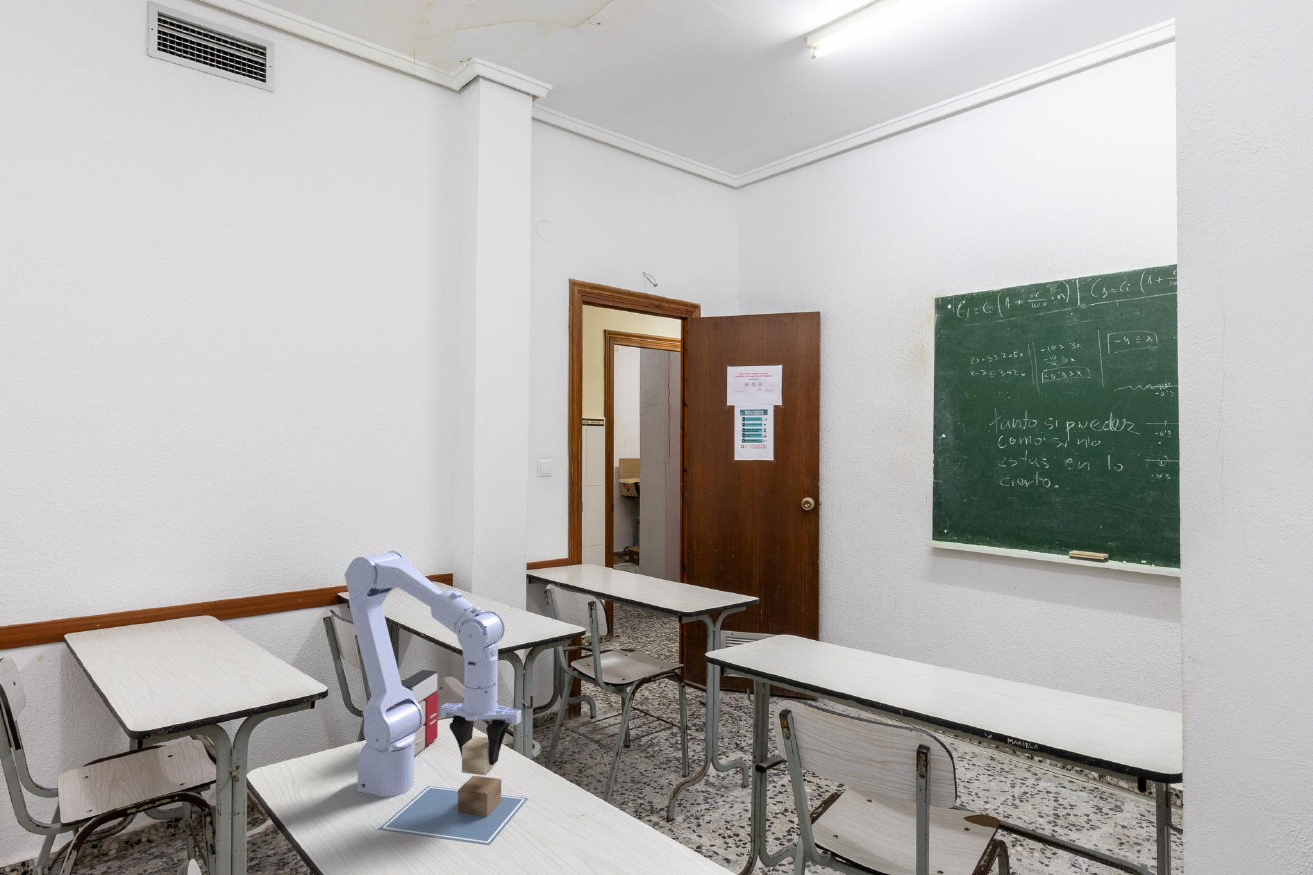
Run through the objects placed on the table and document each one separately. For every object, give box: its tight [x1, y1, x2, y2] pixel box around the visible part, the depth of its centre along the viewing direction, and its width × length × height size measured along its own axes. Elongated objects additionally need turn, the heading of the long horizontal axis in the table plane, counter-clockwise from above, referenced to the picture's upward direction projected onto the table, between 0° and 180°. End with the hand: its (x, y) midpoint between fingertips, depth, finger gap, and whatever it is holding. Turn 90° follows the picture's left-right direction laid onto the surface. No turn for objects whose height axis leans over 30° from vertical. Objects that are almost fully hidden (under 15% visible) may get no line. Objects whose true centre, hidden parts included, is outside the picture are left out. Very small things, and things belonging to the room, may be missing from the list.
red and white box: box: [401, 669, 439, 757], centre depth 151 cm, size 11×4×15 cm, turn 168°
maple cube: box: [461, 735, 498, 776], centre depth 125 cm, size 4×4×4 cm
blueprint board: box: [377, 785, 529, 846], centre depth 123 cm, size 20×16×1 cm
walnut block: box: [457, 775, 502, 817], centre depth 125 cm, size 6×6×4 cm
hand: (480, 761), depth 125 cm, fingers closed on maple cube, 4 cm apart
